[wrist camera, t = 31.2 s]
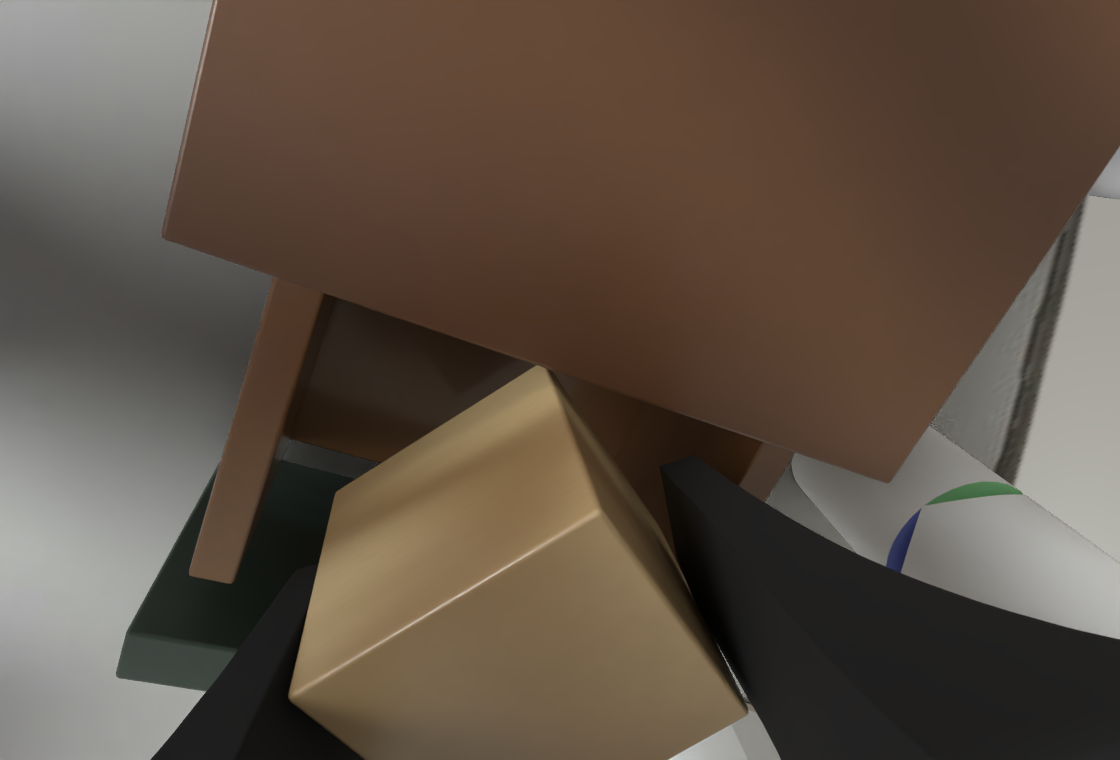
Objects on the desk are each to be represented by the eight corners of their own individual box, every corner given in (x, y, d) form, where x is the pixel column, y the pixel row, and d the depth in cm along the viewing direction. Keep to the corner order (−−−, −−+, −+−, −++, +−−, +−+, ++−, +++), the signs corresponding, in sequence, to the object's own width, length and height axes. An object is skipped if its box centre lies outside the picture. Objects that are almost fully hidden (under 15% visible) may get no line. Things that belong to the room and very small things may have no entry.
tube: (930, 444, 24) (1587, 941, 10) (833, 522, 24) (1325, 1081, 11) (870, 367, 22) (1567, 844, 8) (767, 454, 23) (1256, 1020, 9)
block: (474, 635, 14) (490, 861, 10) (333, 491, 12) (283, 700, 8) (659, 525, 13) (752, 715, 10) (544, 357, 12) (602, 508, 8)
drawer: (535, 664, 24) (570, 872, 17) (184, 598, 20) (75, 828, 14) (776, 211, 18) (947, 284, 12) (353, 13, 15) (294, -27, 9)
